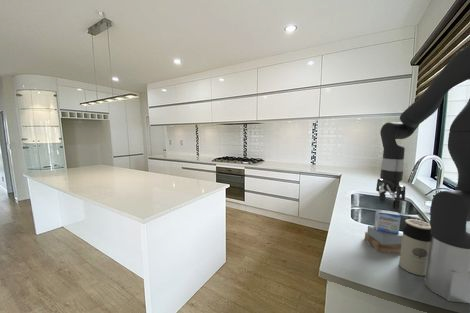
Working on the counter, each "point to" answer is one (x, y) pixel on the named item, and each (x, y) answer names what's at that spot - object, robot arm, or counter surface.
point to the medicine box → (387, 221)
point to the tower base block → (380, 247)
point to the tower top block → (385, 237)
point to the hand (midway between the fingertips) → (388, 205)
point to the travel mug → (415, 246)
